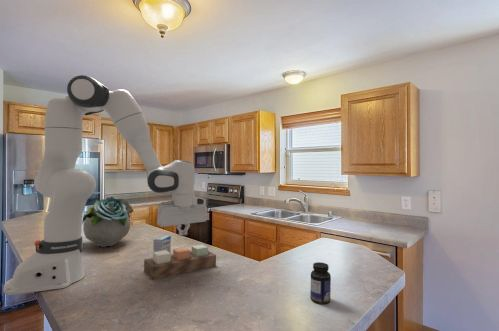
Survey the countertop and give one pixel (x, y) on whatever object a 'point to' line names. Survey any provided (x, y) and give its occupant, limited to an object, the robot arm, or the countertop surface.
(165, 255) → the cream key
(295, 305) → the countertop surface
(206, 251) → the sage key
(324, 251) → the countertop surface
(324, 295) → the pill bottle
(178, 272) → the key panel
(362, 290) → the countertop surface
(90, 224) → the flower arrangement
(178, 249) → the terracotta key
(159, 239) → the medicine box
